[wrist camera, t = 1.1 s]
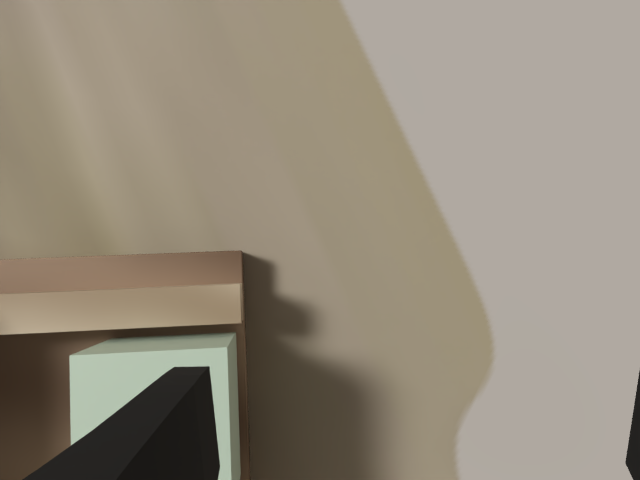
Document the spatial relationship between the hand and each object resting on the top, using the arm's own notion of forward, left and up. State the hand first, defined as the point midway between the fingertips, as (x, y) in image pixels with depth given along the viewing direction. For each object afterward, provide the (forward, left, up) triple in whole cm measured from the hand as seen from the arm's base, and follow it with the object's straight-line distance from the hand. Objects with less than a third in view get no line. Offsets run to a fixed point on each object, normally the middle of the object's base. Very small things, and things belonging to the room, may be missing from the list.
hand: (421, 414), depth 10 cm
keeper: (-2, +6, -10) cm, 11 cm away
